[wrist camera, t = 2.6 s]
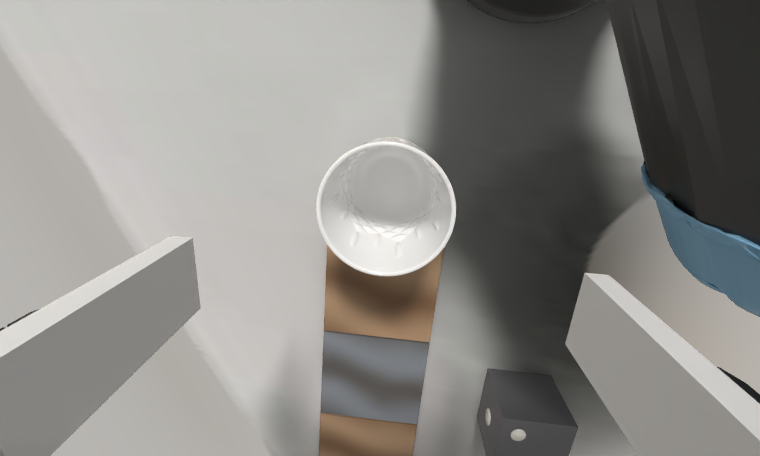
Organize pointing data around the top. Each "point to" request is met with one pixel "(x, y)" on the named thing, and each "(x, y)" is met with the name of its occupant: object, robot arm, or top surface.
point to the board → (374, 358)
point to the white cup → (386, 207)
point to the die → (524, 416)
